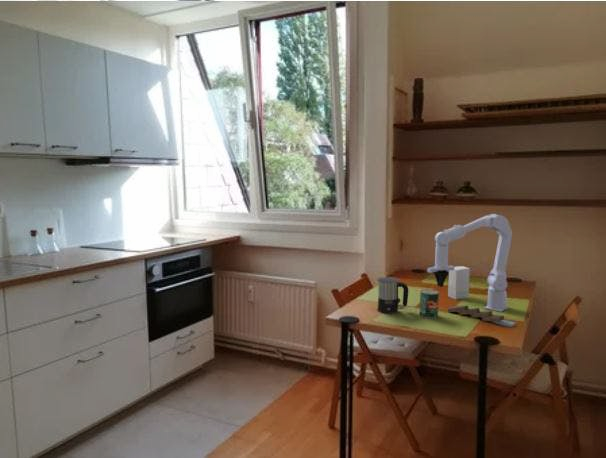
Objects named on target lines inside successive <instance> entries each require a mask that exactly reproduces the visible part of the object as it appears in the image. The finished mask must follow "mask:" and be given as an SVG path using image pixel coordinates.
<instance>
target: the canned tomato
mask: <svg viewBox="0 0 606 458" xmlns="http://www.w3.org/2000/svg"><path fill="white" fill-rule="evenodd" d="M439 294H440V291H438V290H435V289H427V288H426V289H421V290H420V291H419V313H418V314H419V317H421V318H425V319H436V318H439V317H438V316H439V315H438V314H439Z"/></svg>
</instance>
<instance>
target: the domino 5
mask: <svg viewBox="0 0 606 458" xmlns="http://www.w3.org/2000/svg"><path fill="white" fill-rule="evenodd" d="M491 323H493V324H497V325H501V326H506V327H509V328H512V327H514V326H516V322H514V321H509V320H506V319H504V320H501V321H491Z"/></svg>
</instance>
